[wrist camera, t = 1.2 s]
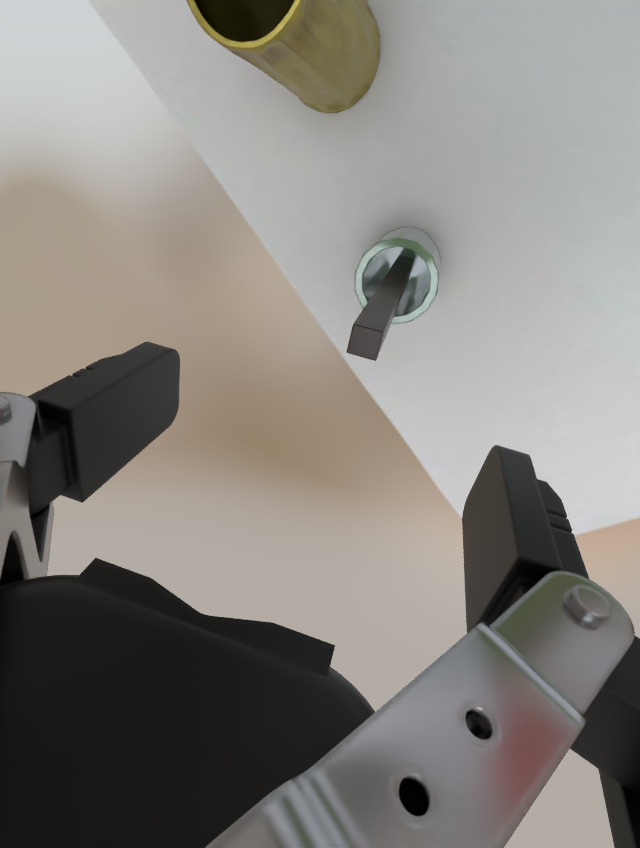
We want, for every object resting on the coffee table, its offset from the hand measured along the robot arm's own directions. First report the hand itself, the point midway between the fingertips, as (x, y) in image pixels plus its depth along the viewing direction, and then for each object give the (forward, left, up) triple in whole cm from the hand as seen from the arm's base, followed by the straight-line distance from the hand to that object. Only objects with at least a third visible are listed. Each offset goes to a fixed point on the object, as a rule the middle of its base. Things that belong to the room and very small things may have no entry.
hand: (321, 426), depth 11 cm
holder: (0, 0, -25) cm, 25 cm away
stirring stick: (0, 0, -25) cm, 25 cm away
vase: (-11, -8, -26) cm, 29 cm away
